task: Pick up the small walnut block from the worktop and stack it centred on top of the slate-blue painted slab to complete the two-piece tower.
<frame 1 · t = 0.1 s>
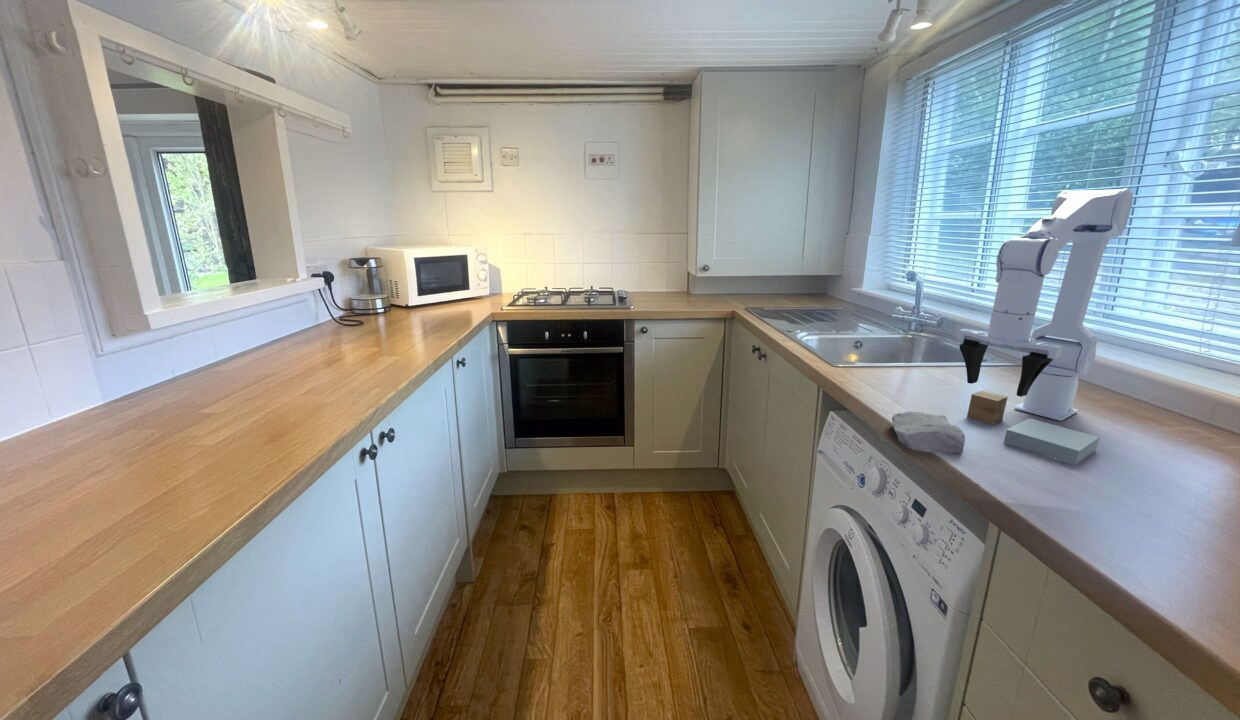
hand: (995, 388, 87), 10 cm above the countertop, fingers open, 7 cm apart
walnut block: (984, 418, 100), on the countertop
stone block: (920, 440, 91), on the countertop
base slab: (1048, 448, 88), on the countertop
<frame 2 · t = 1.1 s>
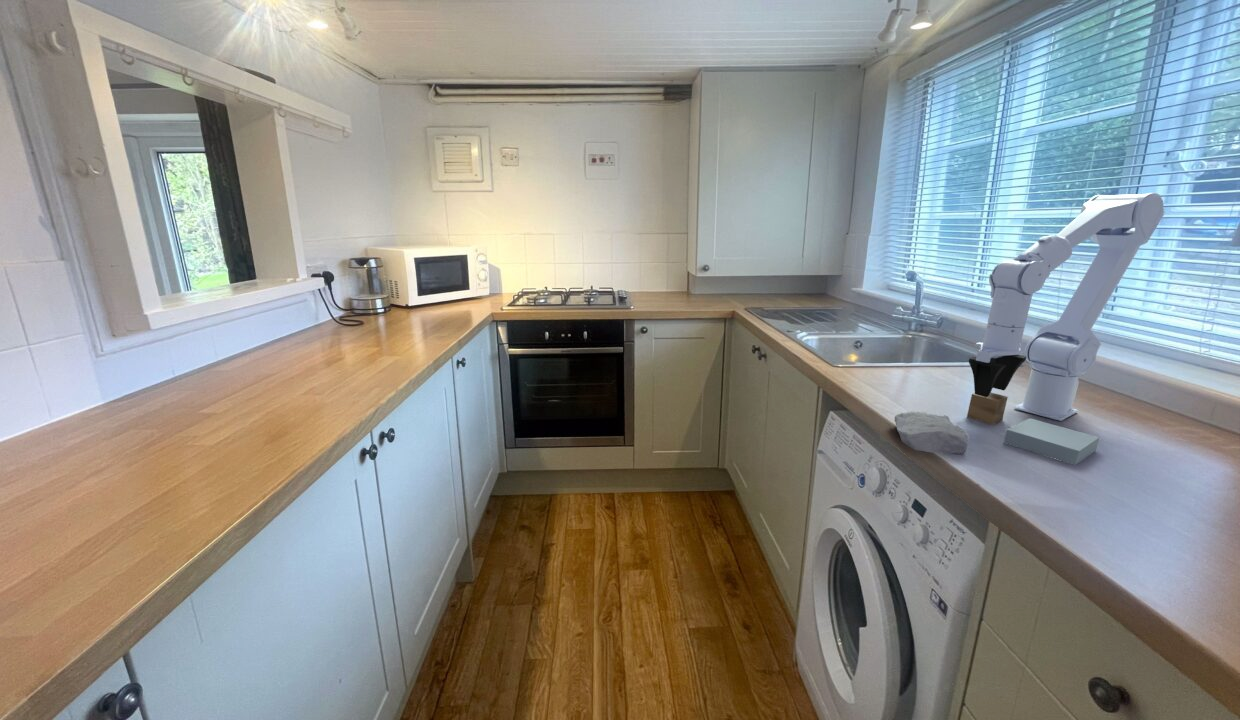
hand: (990, 392, 99), 6 cm above the countertop, fingers open, 7 cm apart
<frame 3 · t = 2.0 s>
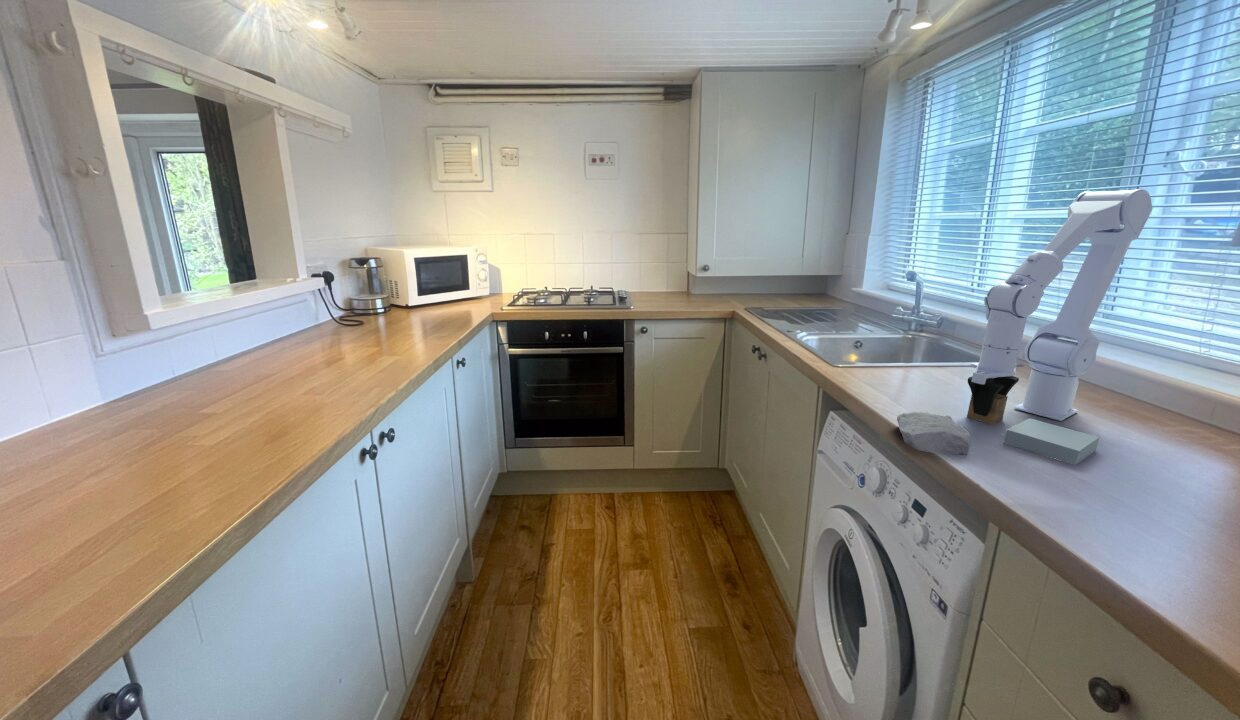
hand: (985, 411, 100), 1 cm above the countertop, fingers closed on walnut block, 4 cm apart
walnut block: (984, 418, 100), on the countertop, touching gripper
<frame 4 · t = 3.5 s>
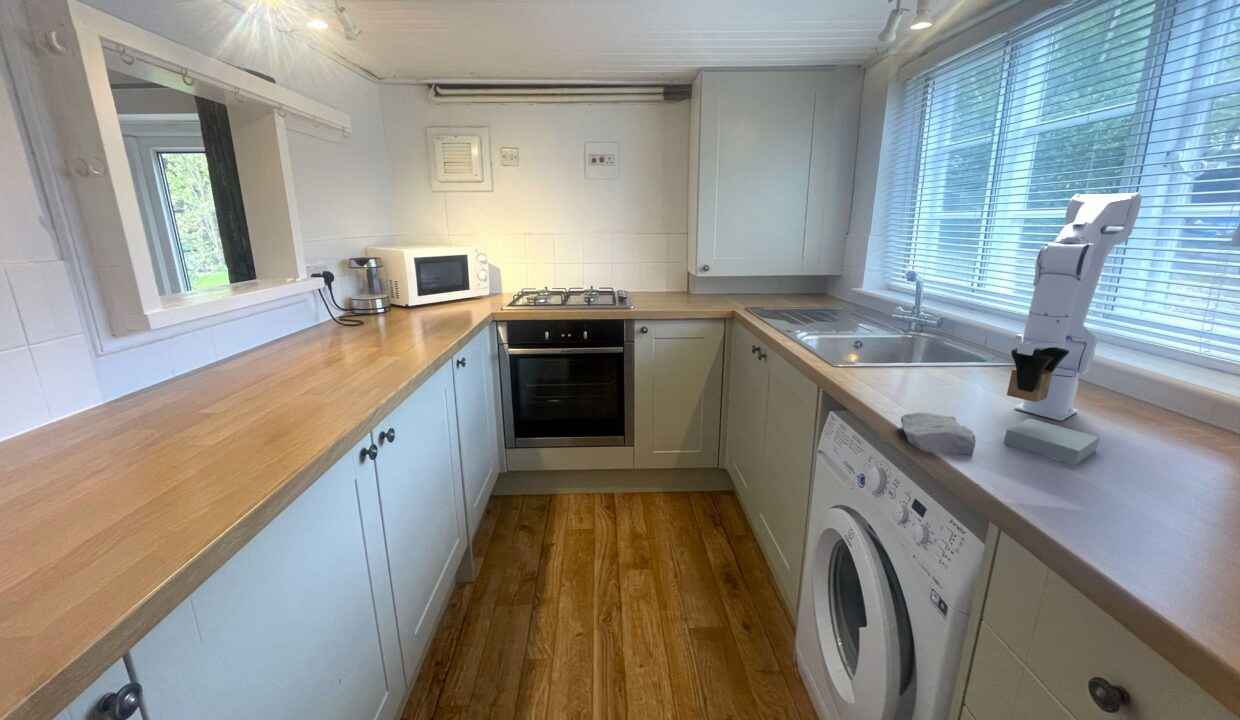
hand: (1031, 388, 90), 9 cm above the countertop, fingers closed on walnut block, 4 cm apart
walnut block: (1026, 396, 91), point 7 cm above the countertop, touching gripper
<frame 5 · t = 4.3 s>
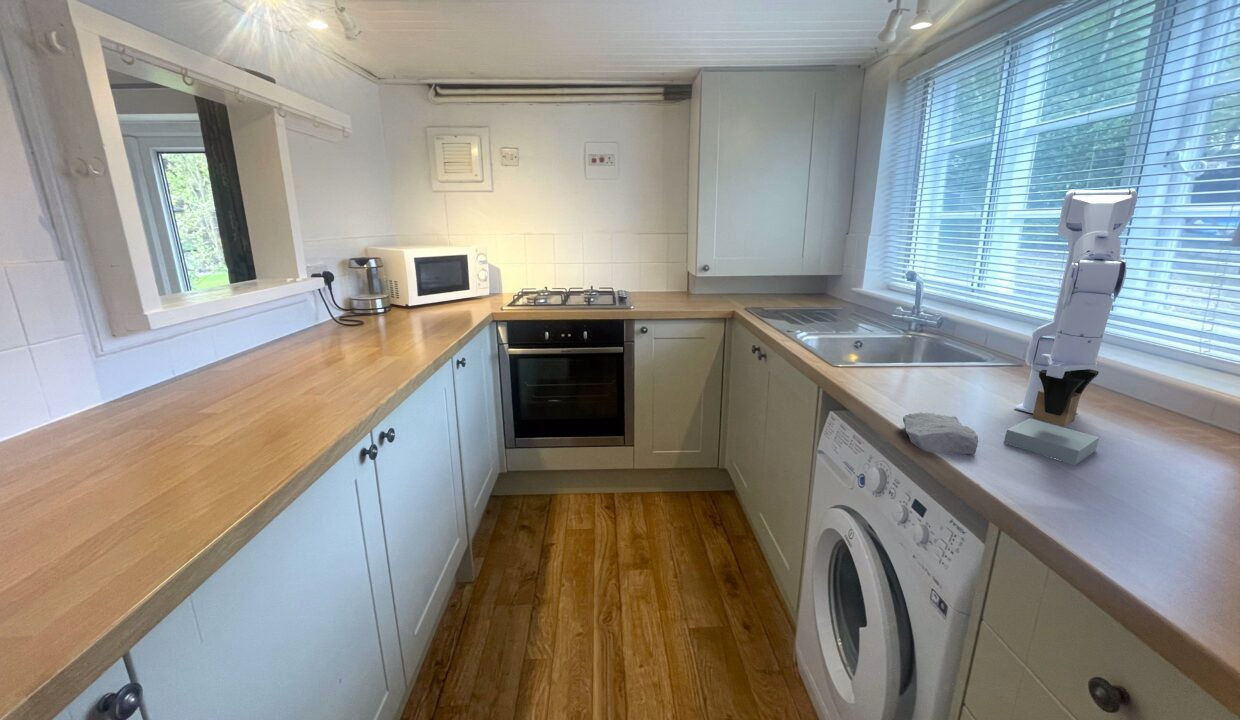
hand: (1058, 410, 86), 7 cm above the countertop, fingers closed on walnut block, 4 cm apart
walnut block: (1052, 419, 87), point 5 cm above the countertop, touching gripper
when the fingers open (5 cm above the countertop, at t = 5.0 s): walnut block drops 1 cm, resting on base slab.
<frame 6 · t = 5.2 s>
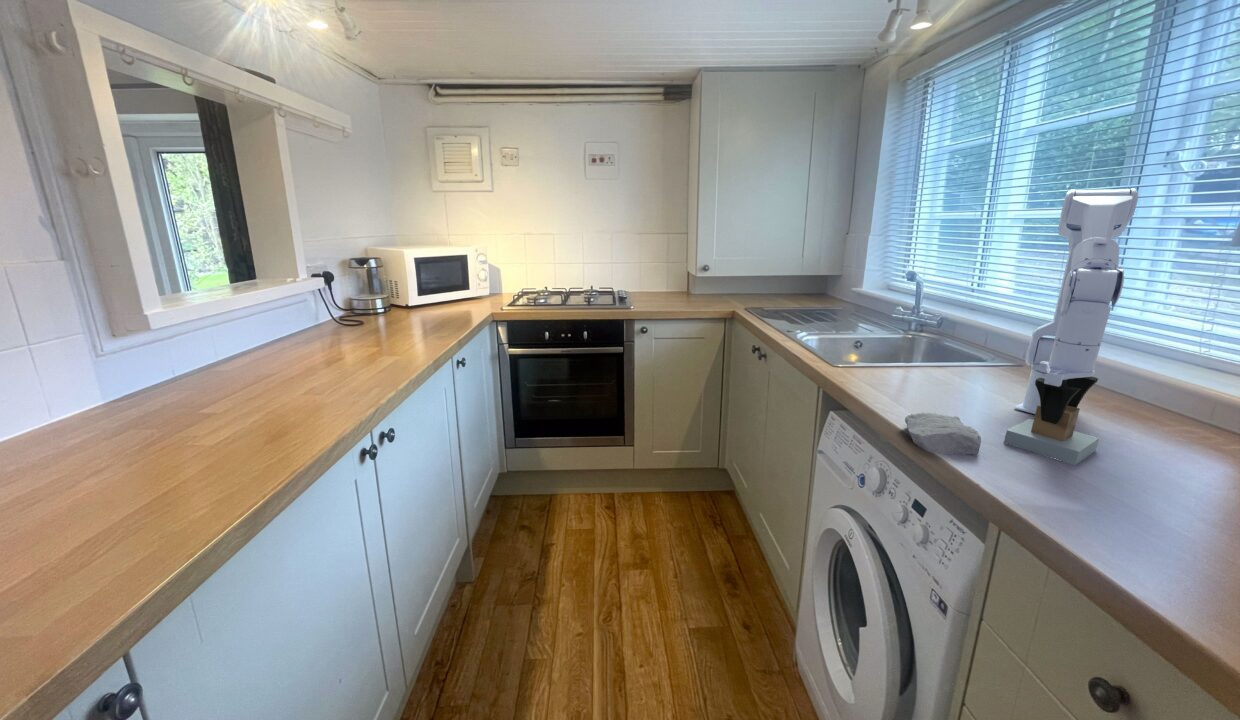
hand: (1056, 418, 86), 5 cm above the countertop, fingers open, 6 cm apart
walnut block: (1051, 433, 87), point 2 cm above the countertop, touching base slab
base slab: (1048, 449, 88), on the countertop, touching walnut block
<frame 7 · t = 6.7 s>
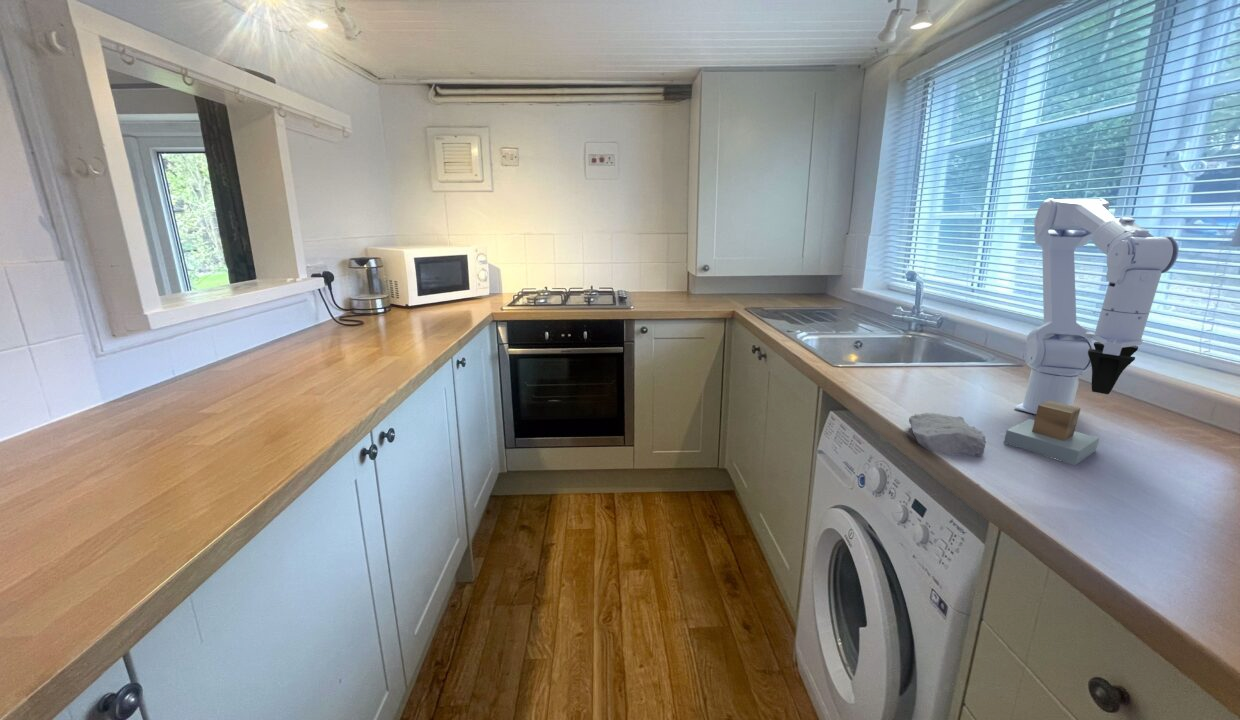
hand: (1102, 387, 87), 10 cm above the countertop, fingers open, 7 cm apart
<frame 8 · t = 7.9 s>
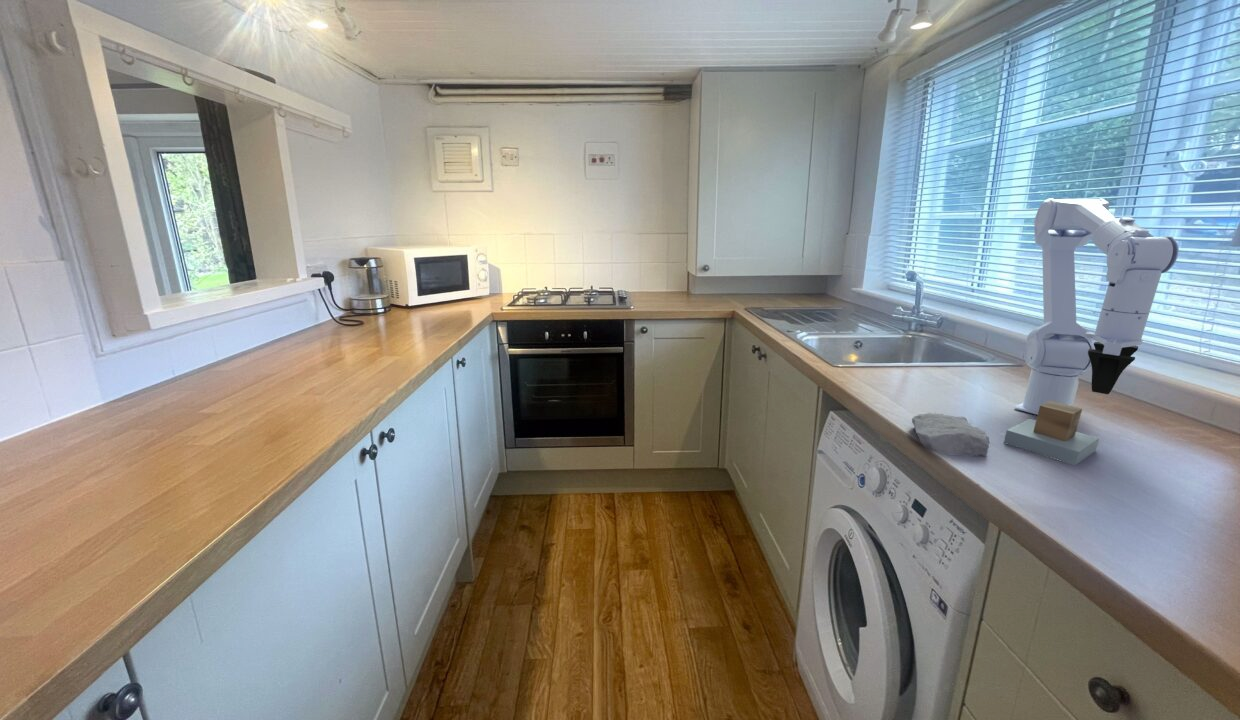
hand: (1102, 387, 87), 10 cm above the countertop, fingers open, 7 cm apart
walnut block: (1053, 433, 87), point 2 cm above the countertop
base slab: (1048, 449, 88), on the countertop
at the end: walnut block inside the target area on the base slab (0.3 cm from its centre), point 3.0 cm above the base slab's base; walnut block tilted 0° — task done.
